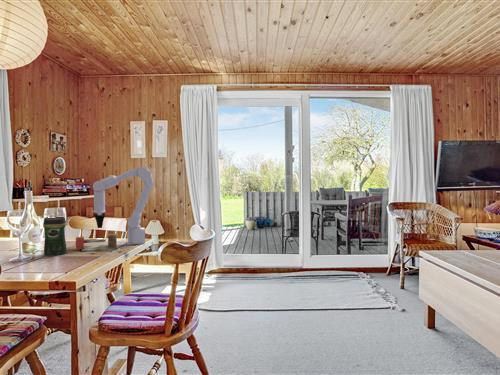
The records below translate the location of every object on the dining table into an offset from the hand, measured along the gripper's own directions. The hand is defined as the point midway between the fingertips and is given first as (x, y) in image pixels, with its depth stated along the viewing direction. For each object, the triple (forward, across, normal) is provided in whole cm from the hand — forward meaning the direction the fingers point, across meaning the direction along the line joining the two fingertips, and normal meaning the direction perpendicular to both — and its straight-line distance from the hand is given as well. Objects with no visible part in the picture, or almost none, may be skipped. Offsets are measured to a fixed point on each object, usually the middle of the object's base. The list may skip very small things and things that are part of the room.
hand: (99, 227), depth 190 cm
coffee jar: (+10, +18, -20) cm, 29 cm away
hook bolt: (+9, +12, -4) cm, 16 cm away
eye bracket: (+10, +12, 0) cm, 16 cm away
